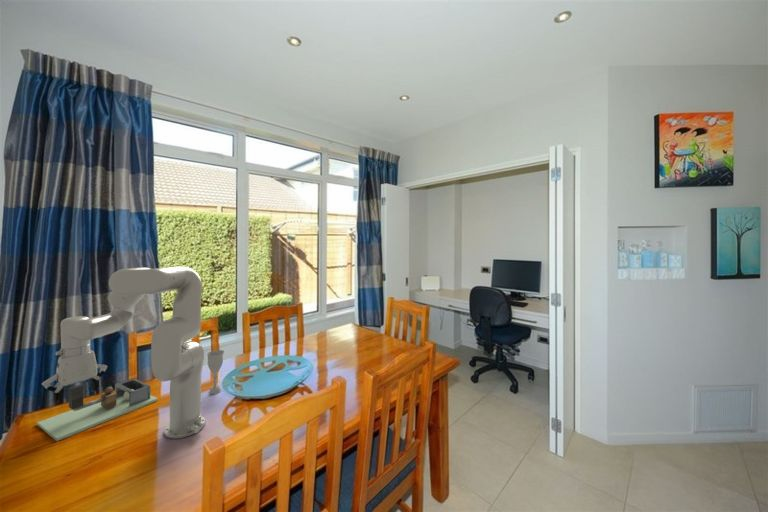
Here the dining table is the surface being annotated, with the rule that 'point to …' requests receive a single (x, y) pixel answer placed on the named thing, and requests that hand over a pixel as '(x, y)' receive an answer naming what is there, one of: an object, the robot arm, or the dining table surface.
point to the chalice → (215, 367)
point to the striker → (77, 401)
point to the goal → (135, 396)
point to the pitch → (87, 417)
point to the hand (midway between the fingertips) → (77, 395)
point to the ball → (126, 395)
